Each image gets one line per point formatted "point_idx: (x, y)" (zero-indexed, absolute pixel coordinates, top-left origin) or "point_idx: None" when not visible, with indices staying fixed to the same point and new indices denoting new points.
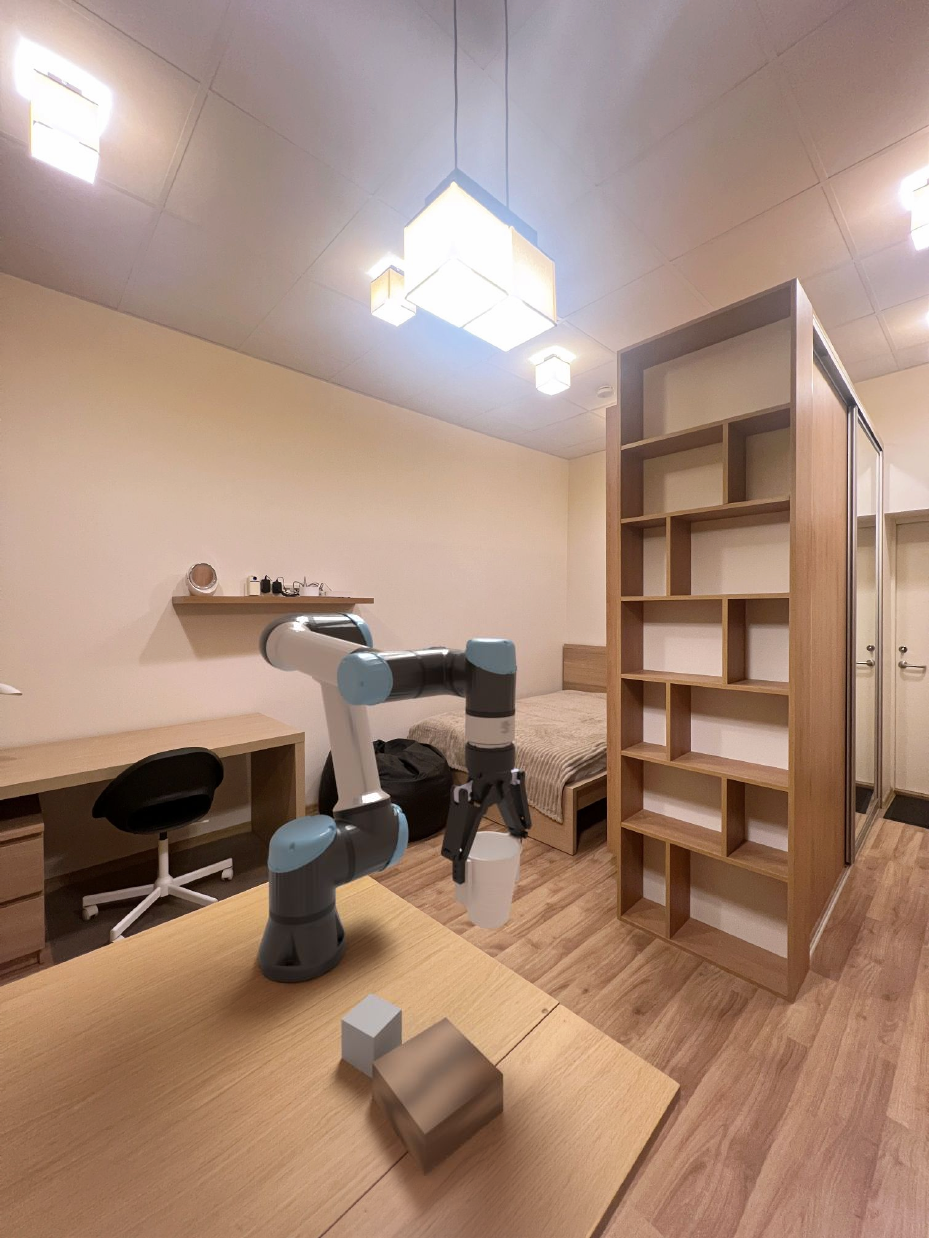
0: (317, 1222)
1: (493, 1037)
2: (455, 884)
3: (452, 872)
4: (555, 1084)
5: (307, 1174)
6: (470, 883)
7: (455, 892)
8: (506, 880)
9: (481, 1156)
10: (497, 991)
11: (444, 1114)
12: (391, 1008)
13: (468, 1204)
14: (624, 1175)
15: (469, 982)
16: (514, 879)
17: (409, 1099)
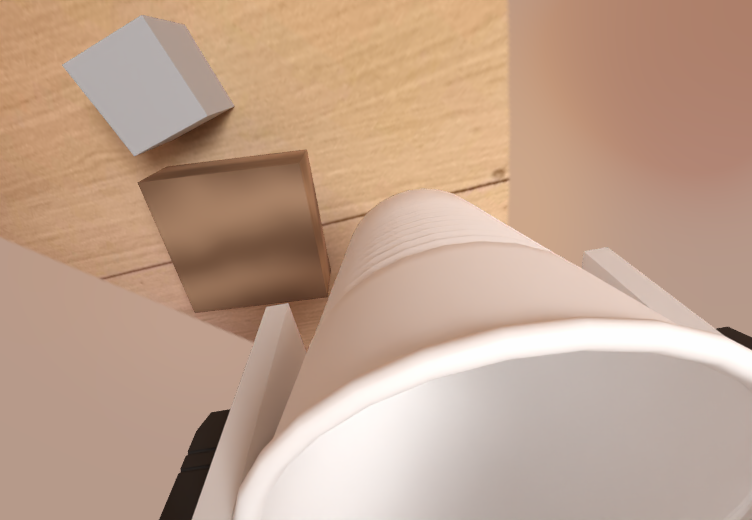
0: (87, 269)
1: (388, 172)
2: (250, 357)
3: (184, 461)
4: None
5: (70, 219)
6: None
7: (260, 330)
8: (448, 477)
9: None
10: (467, 80)
11: (227, 304)
12: (185, 101)
13: (246, 323)
14: None
15: (437, 14)
16: (505, 440)
17: (186, 266)
